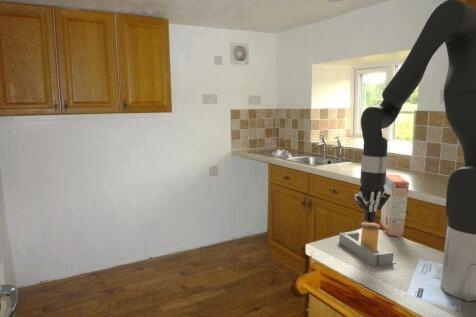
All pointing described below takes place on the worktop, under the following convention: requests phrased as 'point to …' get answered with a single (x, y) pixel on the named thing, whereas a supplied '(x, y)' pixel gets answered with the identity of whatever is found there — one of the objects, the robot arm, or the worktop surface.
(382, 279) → the worktop surface
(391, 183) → the cracker box
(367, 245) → the orange cylinder
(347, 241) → the duct tray
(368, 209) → the robot arm
